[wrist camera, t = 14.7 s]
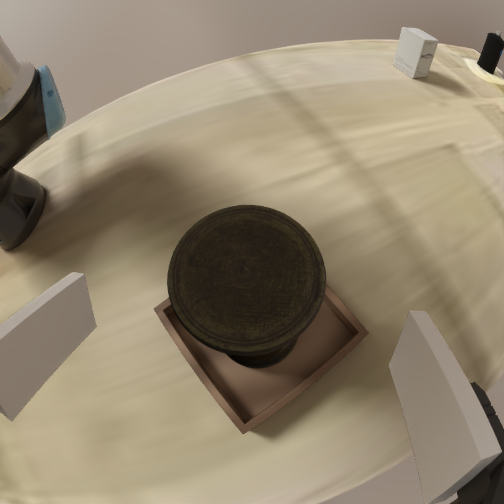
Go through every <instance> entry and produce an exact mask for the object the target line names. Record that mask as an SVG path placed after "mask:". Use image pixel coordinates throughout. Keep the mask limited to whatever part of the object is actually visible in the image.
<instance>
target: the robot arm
mask: <svg viewBox="0 0 504 504" xmlns="http://www.w3.org/2000/svg"><path fill="white" fill-rule="evenodd" d="M65 120H66V116H65V111H64V108H63V105H62V102H61V99H60V96H59V93H58V90H57V87H56V85H55V82H54V79H53V77H52V74H51V72H50V70H49V68H48V67H47V66H46V65H45V66H42V67H39V68H38V69H37V70H36V69H35V67H34V66H33V64H32V63H31V62H27V61H25V62H17V60H16V59H15V57H14V56H13V54H12V53H11V51H10V50H9V48H8V47H7V45H6V44H5V43H4V41H3V39H2V38H1V36H0V247H1V248H3V249H5V250H10V249H13V248H15V247H17V246H18V245H19V244H21V243H22V242H23V241H24V240H25V239H26V238H27V236H28V235H29V234H30V233H31V231H32V230H33V228H34V227H35V225H36V223H37V221H38V219H39V217H40V215H41V213H42V210H43V207H44V202H45V191H44V188H43V187H42V186H41V185H40V184H39V183H38V181H36V180H35V179H33V178H31V177H29V176H27V175H25V174H22V173H20V172H18V171H16V170H15V169H14V168H13V167H14V166H15V165H16V164H17V163H18V162H20V161H21V160H22V159H23V158H25V157H26V156H27V155H28V154H30V153H31V152H32V151H33V150H35V149H36V148H37V147H39V146H40V145H41V144H43V143H44V142H45V141H47V140H49V139H50V137H51V136H52V135H53V134H55V133H56V132H57V131H58V130H60V129H61V128H62V127H63V125H64V123H65ZM96 327H97V326H96V322H95V318H94V314H93V310H92V306H91V302H90V297H89V293H88V288H87V283H86V278H85V274H82V273H77V272H71V273H70V274H68V275H67V276H65V277H64V278H63V279H61V280H60V281H58V282H57V283H55V284H54V285H53V286H51V287H50V288H48V289H47V290H46V291H44V292H43V293H41V294H40V295H39V296H37V297H36V298H35V299H33V300H32V301H30V302H29V303H28V304H26V305H25V306H24V307H22V308H21V309H20V310H19V311H17V312H16V313H15V314H13V315H12V316H11V317H9V318H8V319H7V320H6V321H4V322H3V323H2V324H1V325H0V412H1V413H2V414H3V415H4V416H6V417H7V418H8V419H10V420H11V421H13V420H14V419H15V417H16V416H17V415H18V414H19V413H20V411H21V410H22V409H23V408H24V407H25V405H26V404H27V403H28V402H29V401H30V399H31V398H32V397H33V396H34V395H35V394H36V392H37V391H38V390H39V389H40V388H41V387H42V385H43V384H44V383H45V382H46V381H47V380H48V379H49V378H50V376H51V375H52V374H53V373H54V372H55V371H56V370H57V369H58V367H59V366H60V365H61V364H62V363H63V362H64V361H65V360H66V359H67V358H68V357H69V355H70V354H71V353H72V352H73V351H74V350H75V349H76V348H77V347H78V346H79V345H80V344H81V343H82V342H83V341H84V339H85V338H86V337H87V336H88V335H89V334H90V333H91V332H92V331H93V330H94V329H95V328H96ZM388 366H389V369H390V372H391V375H392V378H393V381H394V384H395V387H396V391H397V394H398V397H399V400H400V404H401V407H402V410H403V414H404V417H405V421H406V425H407V428H408V432H409V436H410V440H411V444H412V448H413V452H414V456H415V460H416V464H417V469H418V474H419V478H420V483H421V488H422V494H423V499H424V504H434V503H438V502H441V501H444V500H446V499H447V498H449V497H450V496H452V495H453V494H454V493H456V492H457V495H458V498H457V499H456V500H455V501H453V502H452V503H450V504H504V429H503V427H502V424H501V423H500V420H499V419H498V416H497V415H495V413H496V412H495V410H494V408H493V406H491V403H490V401H489V399H488V397H487V395H486V393H485V392H484V391H483V390H482V389H481V388H480V387H479V386H478V385H477V384H476V383H475V382H474V383H469V381H468V379H467V377H466V375H465V374H464V372H463V370H462V368H461V367H460V365H459V363H458V361H457V360H456V358H455V356H454V355H453V353H452V351H451V350H450V348H449V346H448V345H447V343H446V341H445V340H444V338H443V337H442V335H441V334H440V332H439V330H438V329H437V327H436V326H435V324H434V323H433V321H432V320H431V318H430V317H429V315H428V314H427V312H426V311H411V310H409V312H408V315H407V318H406V321H405V324H404V327H403V330H402V333H401V335H400V338H399V341H398V343H397V346H396V348H395V351H394V353H393V356H392V358H391V361H390V363H389V365H388Z"/></svg>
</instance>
